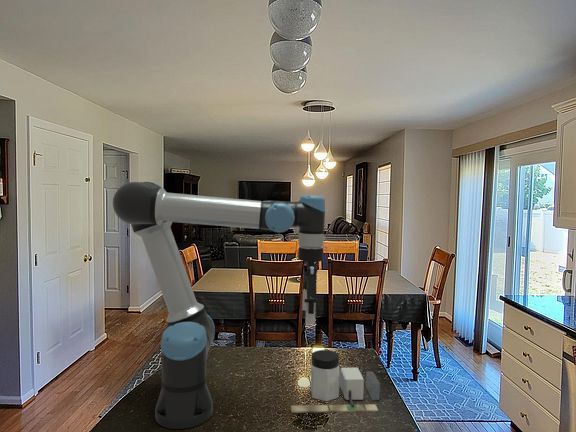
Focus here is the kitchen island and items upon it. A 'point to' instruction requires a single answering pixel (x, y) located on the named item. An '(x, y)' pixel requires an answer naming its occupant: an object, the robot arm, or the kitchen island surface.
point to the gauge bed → (333, 408)
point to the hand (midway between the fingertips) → (308, 316)
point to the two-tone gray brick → (373, 385)
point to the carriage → (351, 384)
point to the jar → (325, 375)
